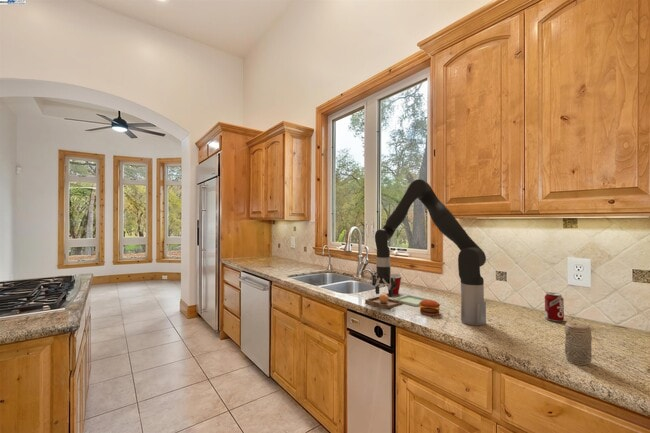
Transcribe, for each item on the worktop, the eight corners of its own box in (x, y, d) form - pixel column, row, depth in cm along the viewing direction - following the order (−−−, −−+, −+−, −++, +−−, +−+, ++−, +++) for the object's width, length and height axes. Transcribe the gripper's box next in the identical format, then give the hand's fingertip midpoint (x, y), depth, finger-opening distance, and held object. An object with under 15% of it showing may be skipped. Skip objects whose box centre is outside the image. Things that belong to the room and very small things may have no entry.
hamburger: (419, 310, 148) (419, 297, 148) (440, 312, 145) (439, 298, 145) (418, 315, 139) (418, 301, 140) (440, 318, 136) (440, 303, 136)
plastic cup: (380, 293, 183) (380, 274, 183) (394, 291, 188) (394, 273, 188) (391, 297, 173) (391, 277, 174) (405, 295, 178) (405, 275, 178)
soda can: (544, 320, 132) (543, 293, 132) (545, 316, 137) (545, 291, 137) (563, 323, 127) (562, 296, 128) (564, 320, 132) (563, 293, 133)
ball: (390, 303, 158) (390, 293, 159) (384, 304, 155) (384, 295, 155) (383, 301, 162) (382, 292, 162) (377, 303, 159) (377, 293, 159)
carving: (561, 361, 93) (560, 323, 93) (570, 355, 97) (569, 319, 97) (586, 369, 88) (585, 329, 88) (595, 363, 92) (594, 324, 92)
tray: (402, 305, 156) (402, 301, 156) (388, 309, 149) (388, 306, 149) (379, 299, 169) (379, 296, 169) (365, 303, 161) (365, 299, 161)
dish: (431, 302, 161) (431, 299, 161) (416, 307, 152) (416, 304, 152) (408, 297, 173) (408, 294, 173) (392, 301, 163) (392, 298, 163)
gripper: (398, 266, 156) (398, 296, 155) (377, 263, 167) (377, 291, 166) (389, 267, 151) (390, 298, 151) (368, 264, 162) (369, 294, 161)
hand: (383, 295), depth 158 cm, fingers open, 8 cm apart
